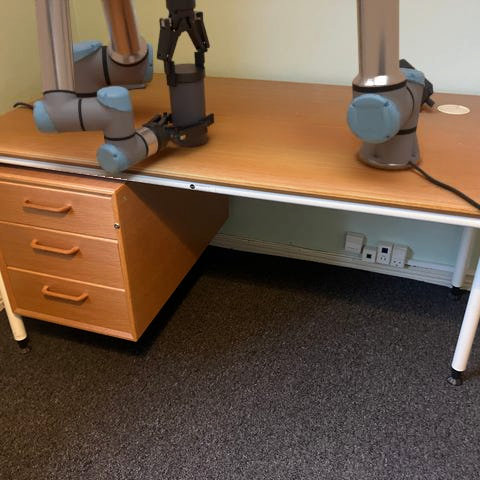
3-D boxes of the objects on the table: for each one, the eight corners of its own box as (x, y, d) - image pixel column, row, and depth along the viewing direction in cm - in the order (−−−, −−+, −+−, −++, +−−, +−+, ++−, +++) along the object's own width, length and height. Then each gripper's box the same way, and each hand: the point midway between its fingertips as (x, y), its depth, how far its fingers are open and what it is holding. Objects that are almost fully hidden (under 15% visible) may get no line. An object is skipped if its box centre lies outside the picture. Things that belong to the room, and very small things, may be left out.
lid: (213, 74, 145) (212, 66, 144) (190, 84, 137) (189, 75, 136) (181, 70, 150) (181, 61, 148) (158, 79, 142) (157, 70, 141)
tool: (374, 89, 181) (400, 53, 170) (416, 126, 177) (445, 91, 166) (365, 93, 177) (391, 56, 166) (408, 131, 173) (438, 96, 162)
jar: (213, 137, 154) (210, 67, 144) (194, 148, 147) (189, 76, 137) (186, 132, 159) (181, 63, 148) (166, 142, 152) (160, 72, 141)
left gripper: (117, 146, 144) (168, 121, 160) (184, 162, 134) (231, 134, 150) (113, 119, 140) (166, 96, 156) (181, 133, 130) (230, 108, 146)
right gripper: (199, -14, 142) (204, 70, 154) (135, -4, 127) (145, 89, 138) (221, -13, 138) (224, 74, 150) (157, -2, 123) (165, 93, 134)
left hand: (198, 115), depth 153 cm, fingers closed on jar, 10 cm apart
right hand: (186, 81), depth 144 cm, fingers closed on lid, 10 cm apart
